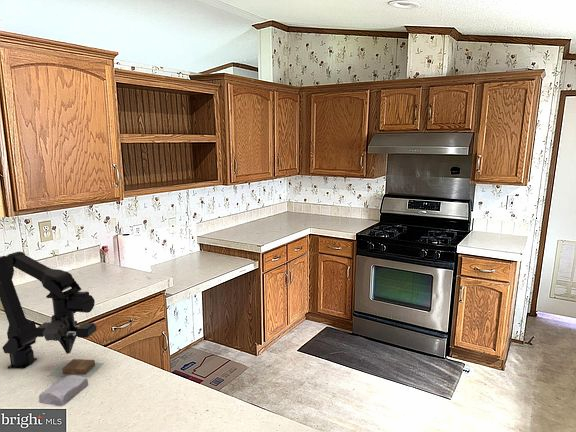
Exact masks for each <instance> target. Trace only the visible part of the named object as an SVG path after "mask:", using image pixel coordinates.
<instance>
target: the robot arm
mask: <svg viewBox="0 0 576 432" xmlns="http://www.w3.org/2000/svg"><path fill="white" fill-rule="evenodd" d="M15 268H16V269H18V270H19V271H21V272H23V273H25V274H27V275H28V276H31V277H32V278H34V279H36V280H37V281H39V282H41V284H42V285H41V286H42V287H43V288H44V289H45V290H47V291H48V292H49V293H48V294H47V295H46V297H45V298H47V299H51V301H52V307H53V314H52V315H51V318H50V319H51V320H50V321H51V322H48V321H47V322H43V323H42V324H40V325H39V326H36V322H35V320H32V321H30V320H29V319H27V316H25V312H24V310H23V307H22V303H21V301H20V299H19V296H18V293H17V290H16V287H15V285H14V282H13V278H14V277H13V276H14V273H15ZM0 302H1V306H2V308H3V310H4V313H5V315H6V319H7V322H8V328H7V332H6V335H7V336H6V337H7V341H6V343H5V344H4V345H3V346H2V350H3V352H4V354H7V355H8V354H9V361H10V365H8V366H7V369H20V370H21V369H22V370H23V369H26V368H27V367H29V366H30V365H31V364H33V363H34V362H35V361H37V360H38V359H37V358H36V357H35V355H34V350H33V346H32V345H33V344H36V342H37V341H36V340H37V338H43V337H44V339H45V341H46V342H49V341H54V342H57V341H58V342H59V344H60V346H61V347H62V348H63V350H64V351H65V354H67V355H68V354H70V353H71V352H72V350H73V347H74V344H75V341H76V339H77V338H78V339H79V338H89V337H90V336H91V335H93V334H94V333H95V332H96V331H97V325H96V324H95V323H94V322H84V323H82V324H81V325H78V320H75V314H76V313H86V314H87V313H90V312H92V311H93V309H94V307H95V298H94V297H93V295H90V292H89V291H82V288H81V286H80V284H78V283H77V281H76V280H75V278H74V277H73V275H72V273H70V272H68V271H65V270H63V269H59V268H57V269H56V268H51V267H49V266H46V265H45V264H43V263H42V262H39V261H38V260H35V259H34V258H32V257H30V256H28V255H26V253H24V252H23V251H15V252H11V253H9V254H7V255H2V256H0Z"/></svg>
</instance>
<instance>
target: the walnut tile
mask: <svg viewBox="0 0 576 432" xmlns="http://www.w3.org/2000/svg"><path fill="white" fill-rule="evenodd" d="M68 362H69V363H68V364H67V365H66V366H64V367H63V368H62V371H63V374H85V375H86V374H87V373H88V372H89V371H90V370H91V369H92V368H93V367H94V366H95V363H96V361H95V359H83V358H82V359H80V358H79V359H77V358H75V359H74V358H73V359H71V360H70V361H68Z"/></svg>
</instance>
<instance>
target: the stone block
mask: <svg viewBox="0 0 576 432" xmlns="http://www.w3.org/2000/svg"><path fill="white" fill-rule="evenodd" d="M88 384H89V379H88V377H82V376H76V375H71V376H66V377H59V379H58V380H56V381H55V382H53V383H52V384H51V385H50V386H49V387H48V388H47V389H45V390H44V391H41V392H40V393H39V395H38V400H39V402H40V403H41V404H42V405H43V404H44V405H54V406H65V405H66V404H67V403H69V402H70V401H71V400H72V399H73V398H75V396H76V395H78V394H79V393H80V392H81V391H83V390H84V389H85V388H86V387H88Z"/></svg>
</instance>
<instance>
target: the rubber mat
mask: <svg viewBox="0 0 576 432" xmlns="http://www.w3.org/2000/svg"><path fill="white" fill-rule="evenodd" d="M69 362H70V361H64V362H62V363H61V364H60V365H59V366H57V367H56V368H55V369H54V370H52V372H50V373H49V374H48V375H47V377H59V378H63V377H66V376H71V375H76V376H82V377H85V378H91V377H93V375H94V374H95V373H97V371H98V370H99V369H100V368H101V367H102V366H103V365H104V364H105V363H104V362H95V366H94V367H93V368H92V369H91V370H90V371H89V372H88V373H87V374H86V375H85V374H63V371H62V368H63V367H64V366H66V365H67V364H68V363H69Z"/></svg>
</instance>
